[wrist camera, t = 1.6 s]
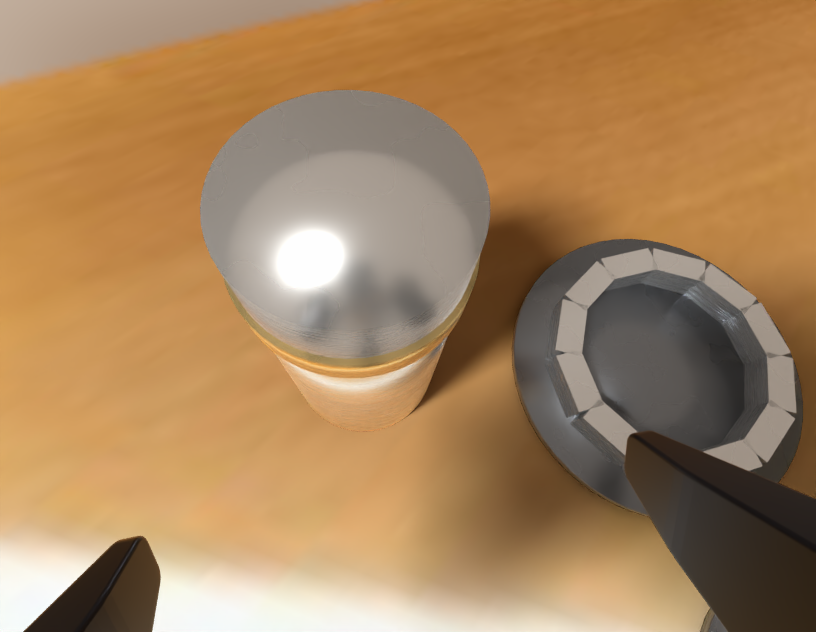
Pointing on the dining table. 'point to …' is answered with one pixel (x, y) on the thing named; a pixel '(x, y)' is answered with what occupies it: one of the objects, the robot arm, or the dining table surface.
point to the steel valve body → (349, 245)
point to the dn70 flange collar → (652, 364)
